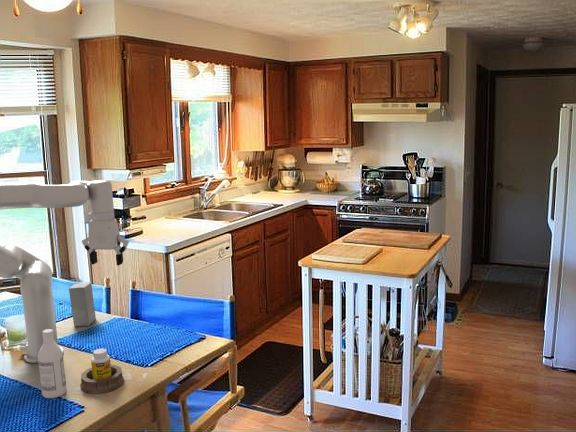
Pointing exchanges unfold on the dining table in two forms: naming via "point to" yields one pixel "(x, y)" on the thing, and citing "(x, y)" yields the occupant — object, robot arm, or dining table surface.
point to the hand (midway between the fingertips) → (107, 264)
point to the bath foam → (51, 367)
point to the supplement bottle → (101, 364)
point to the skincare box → (82, 304)
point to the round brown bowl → (101, 381)
